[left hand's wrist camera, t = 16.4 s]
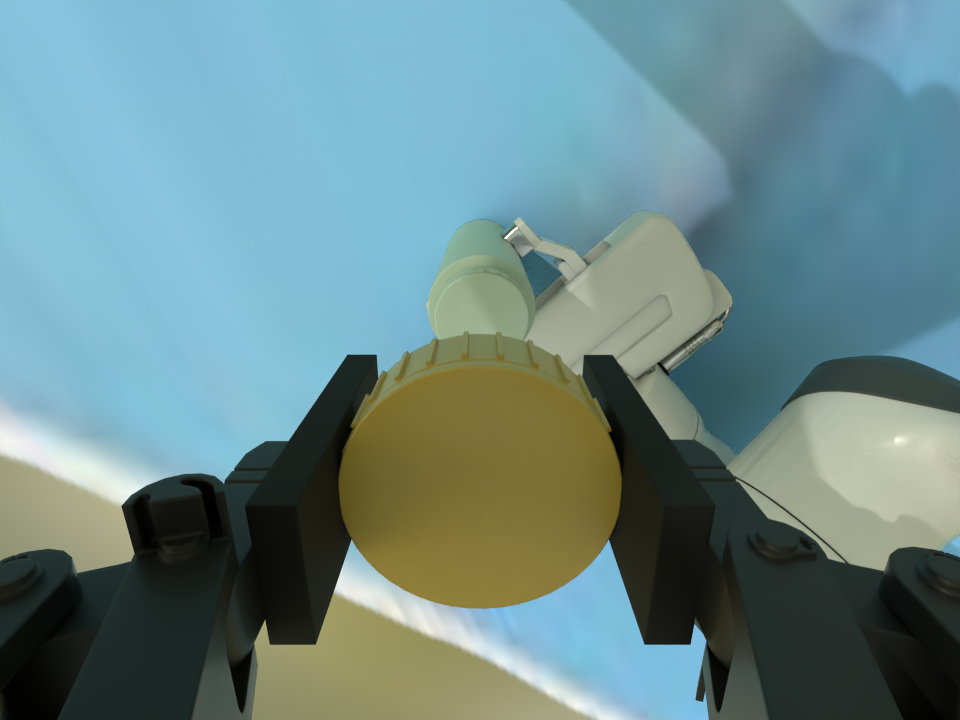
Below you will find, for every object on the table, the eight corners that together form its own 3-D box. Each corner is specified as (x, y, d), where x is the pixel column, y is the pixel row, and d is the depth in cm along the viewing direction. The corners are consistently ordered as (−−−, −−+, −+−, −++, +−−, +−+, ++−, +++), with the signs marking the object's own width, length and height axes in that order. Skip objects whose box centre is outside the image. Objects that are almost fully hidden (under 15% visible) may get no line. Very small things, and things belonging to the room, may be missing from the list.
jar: (517, 284, 39) (542, 369, 23) (451, 290, 39) (431, 378, 23) (512, 216, 38) (536, 256, 21) (444, 222, 38) (416, 267, 22)
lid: (471, 274, 11) (469, 297, 9) (656, 441, 12) (688, 492, 10) (305, 454, 12) (274, 506, 10) (487, 586, 13) (488, 653, 12)
